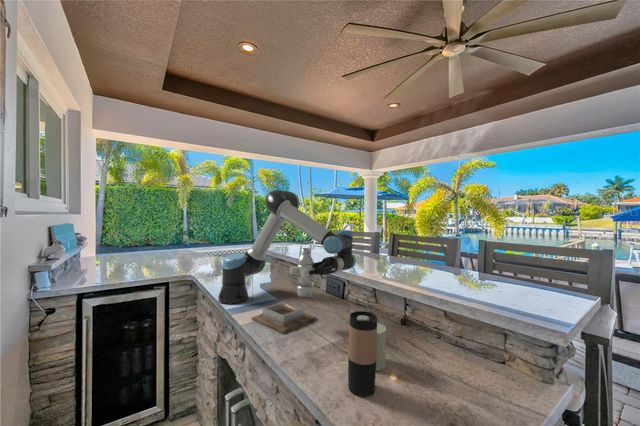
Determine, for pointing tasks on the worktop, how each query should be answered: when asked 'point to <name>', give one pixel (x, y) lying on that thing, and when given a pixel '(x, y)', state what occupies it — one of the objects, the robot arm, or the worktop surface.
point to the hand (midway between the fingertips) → (296, 272)
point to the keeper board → (287, 327)
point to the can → (380, 347)
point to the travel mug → (362, 353)
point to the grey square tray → (273, 314)
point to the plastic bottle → (304, 282)
